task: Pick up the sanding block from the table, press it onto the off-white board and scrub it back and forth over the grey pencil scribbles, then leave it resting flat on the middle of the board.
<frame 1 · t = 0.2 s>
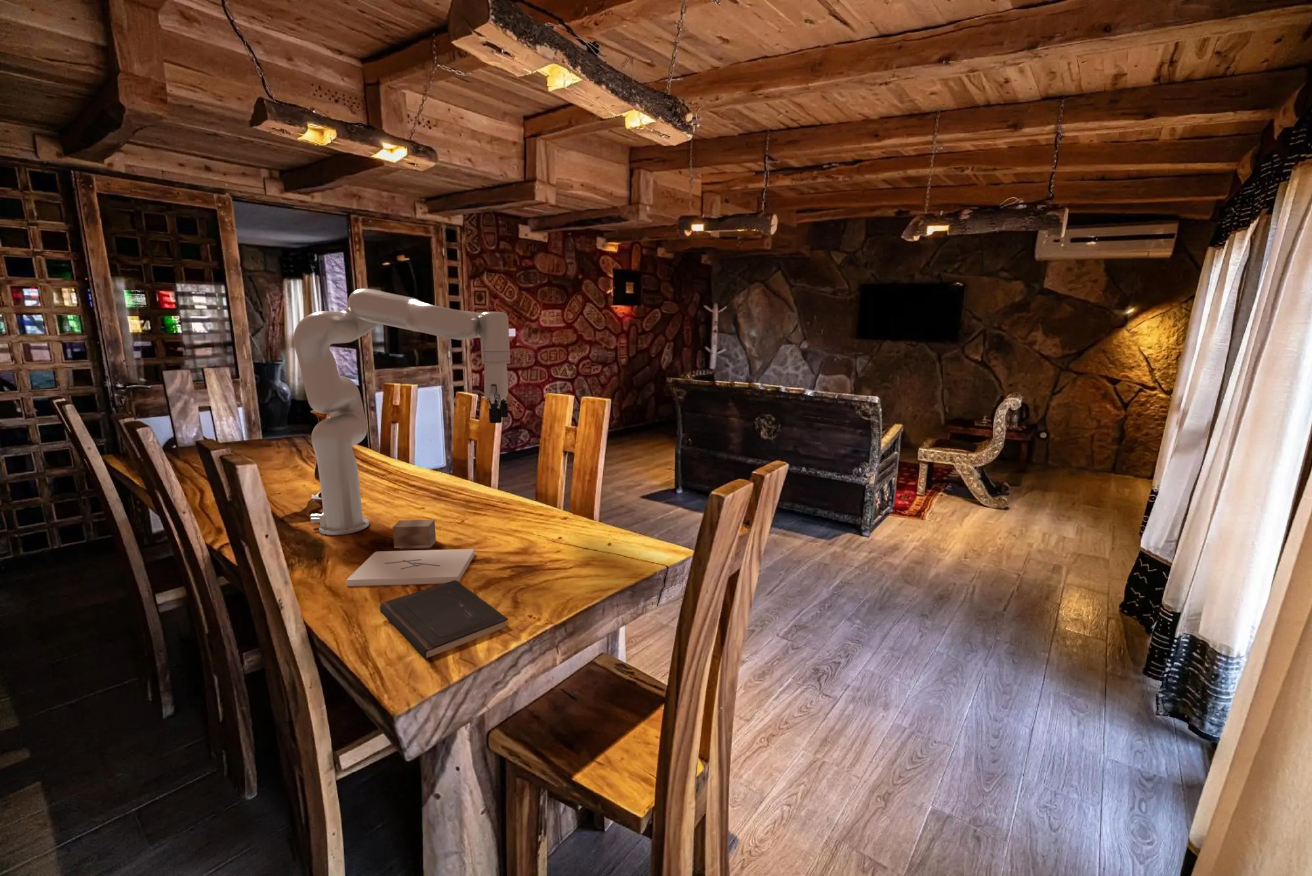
hand: (499, 419, 159), 31 cm above the table, tool pointing down, fingers open, 9 cm apart
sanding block: (415, 544, 150), on the table
board: (415, 569, 135), on the table
hardcover book: (442, 622, 113), on the table
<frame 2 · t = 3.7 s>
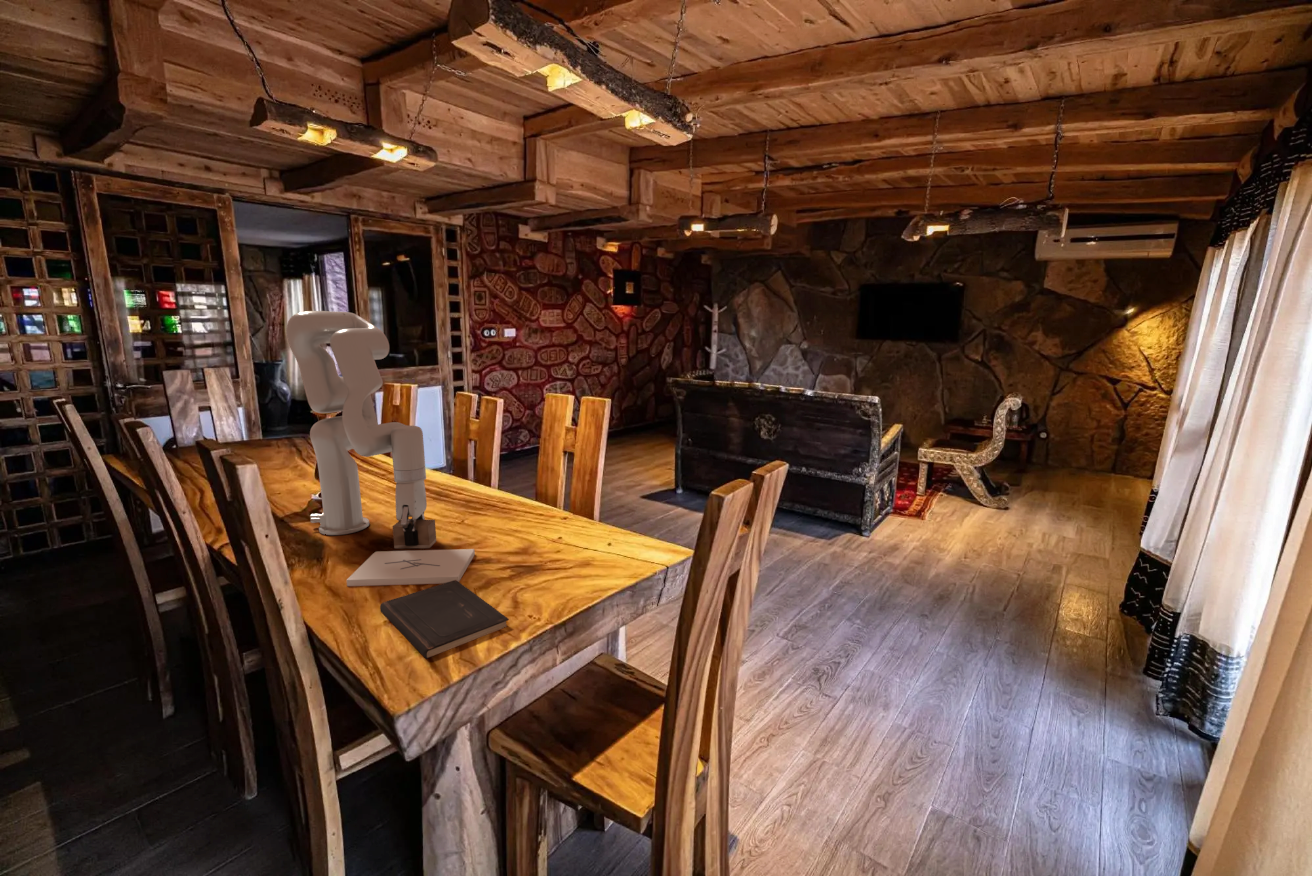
hand: (415, 540, 150), 1 cm above the table, tool pointing down, fingers closed on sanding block, 5 cm apart
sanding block: (415, 544, 150), on the table, touching gripper
everything else where it was.
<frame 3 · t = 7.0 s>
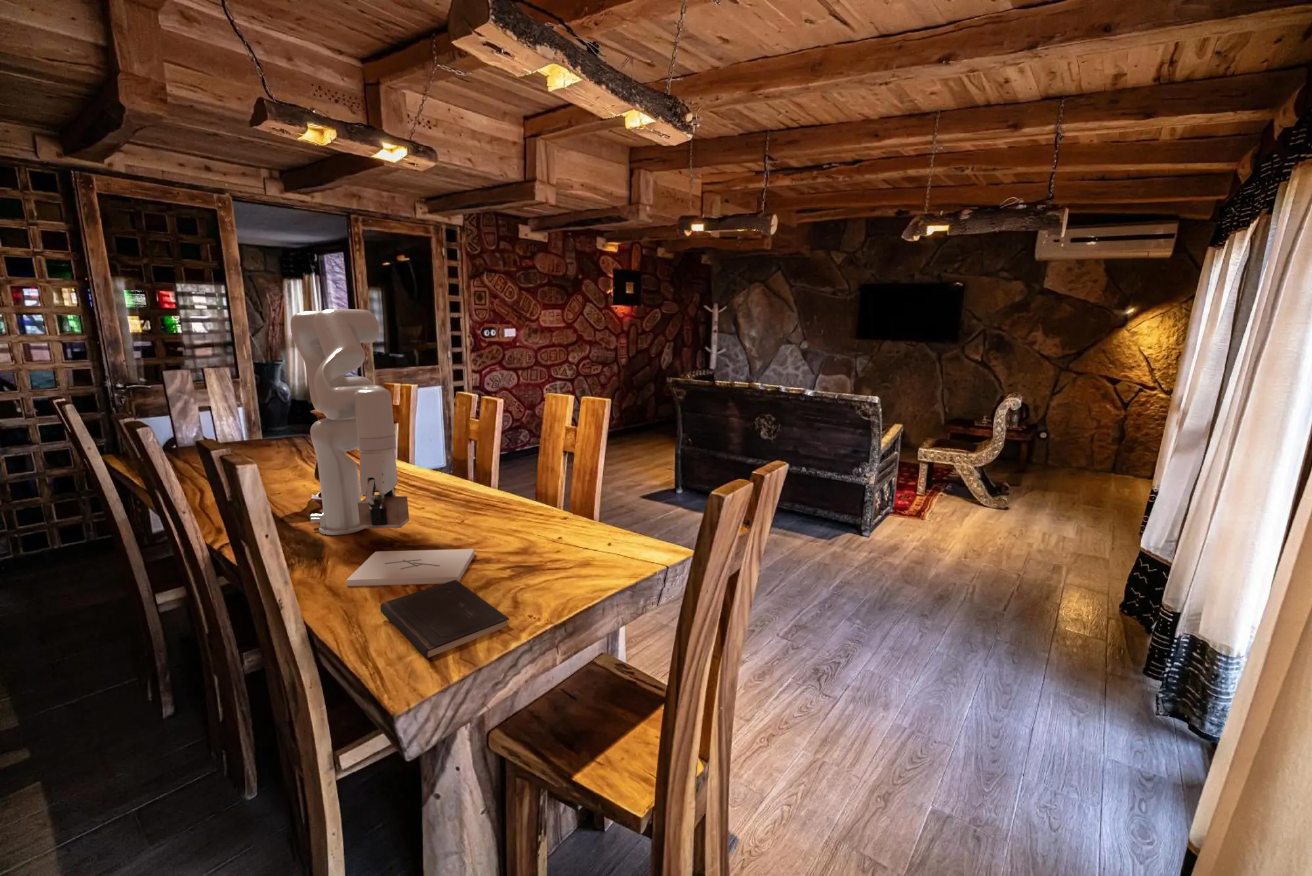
hand: (384, 519, 132), 13 cm above the table, tool pointing down, fingers closed on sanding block, 5 cm apart
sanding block: (385, 524, 132), point 11 cm above the table, touching gripper
everything else where it was.
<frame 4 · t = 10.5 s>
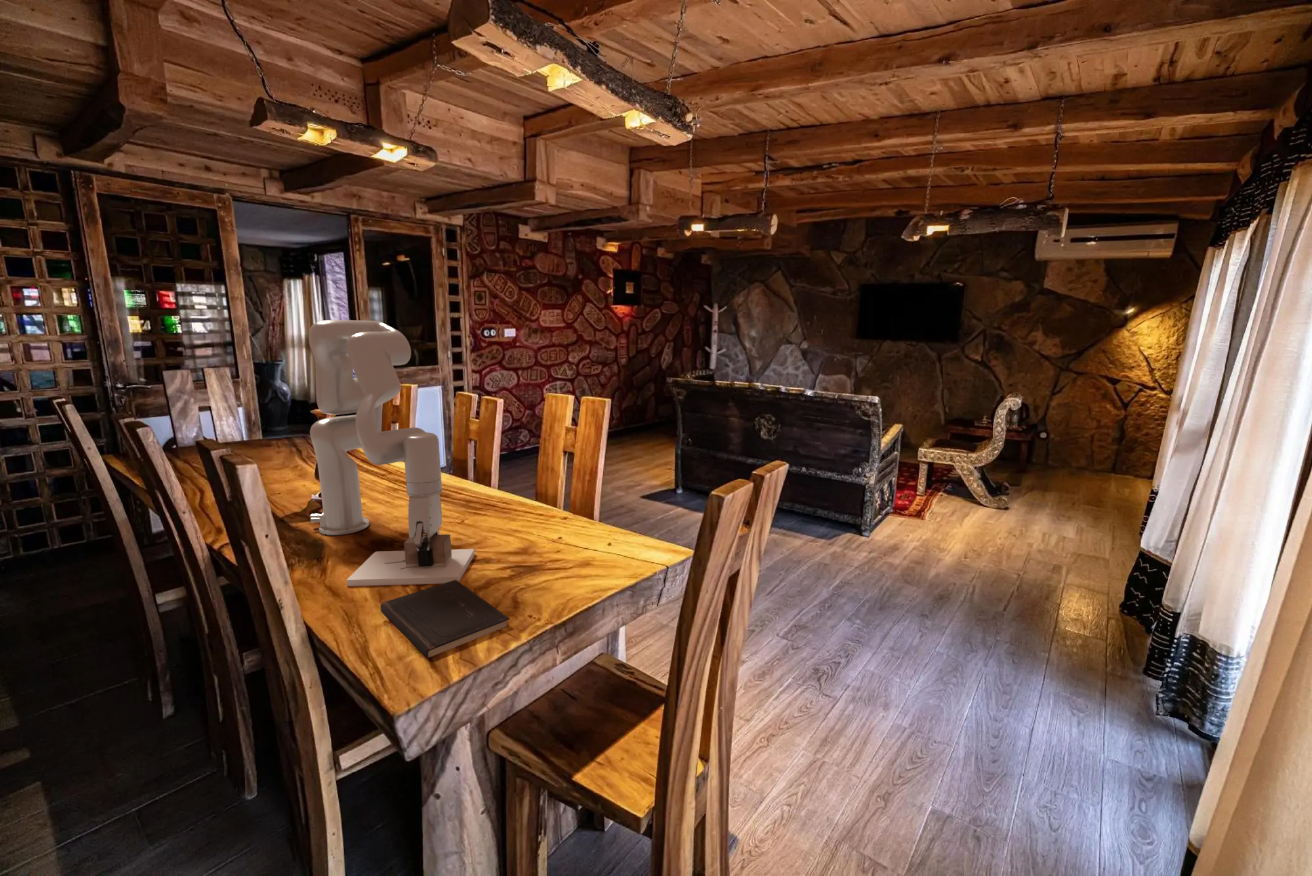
hand: (430, 559, 135), 2 cm above the table, tool pointing down, fingers closed on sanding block, 5 cm apart
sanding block: (429, 562, 135), point 2 cm above the table, touching gripper
everything else where it was.
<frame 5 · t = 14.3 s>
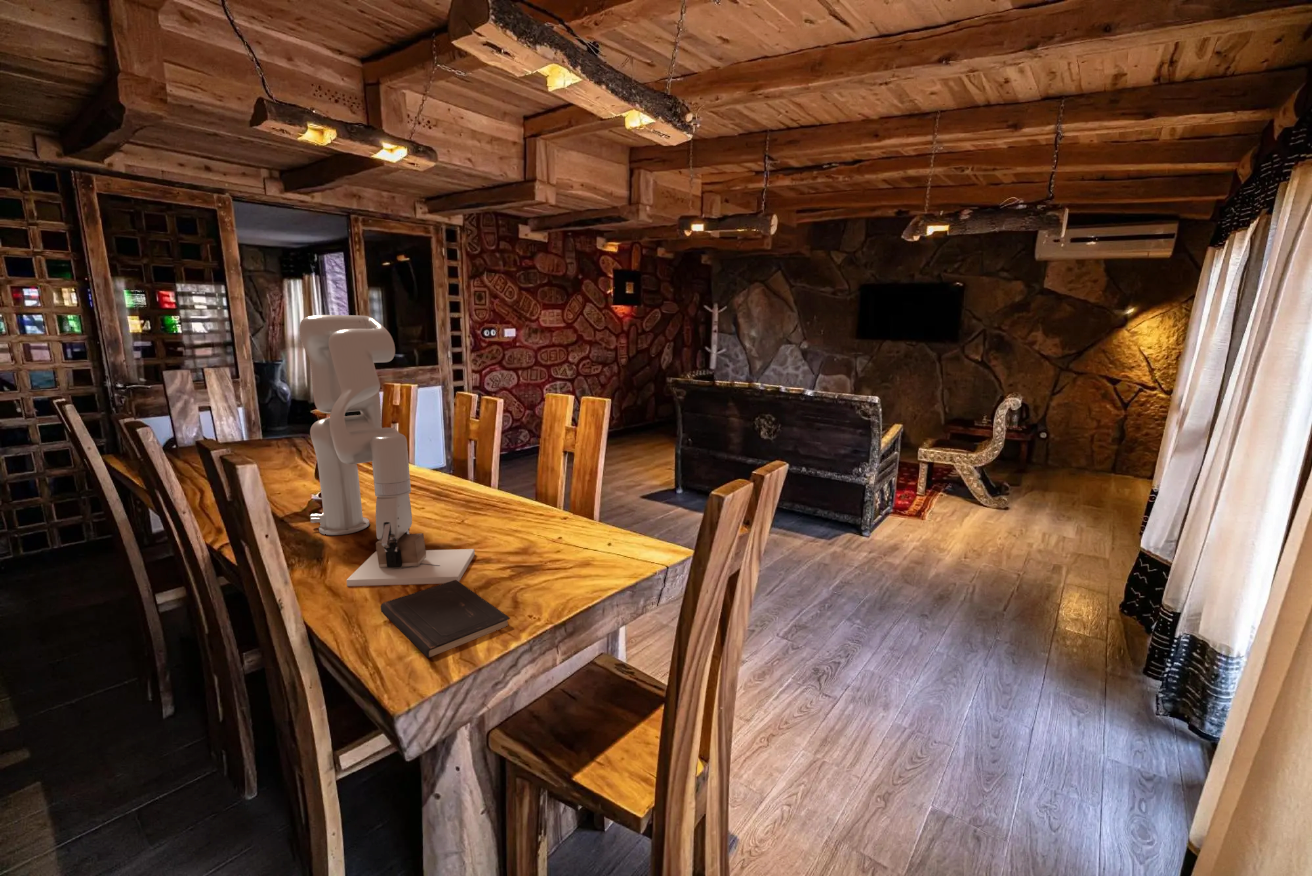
hand: (399, 560, 134), 2 cm above the table, tool pointing down, fingers closed on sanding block, 5 cm apart
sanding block: (403, 562, 134), point 2 cm above the table, touching gripper
everything else where it was.
when the fingers open (2 cm above the table, at t = 17.4 s): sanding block stays where it is, resting on board.
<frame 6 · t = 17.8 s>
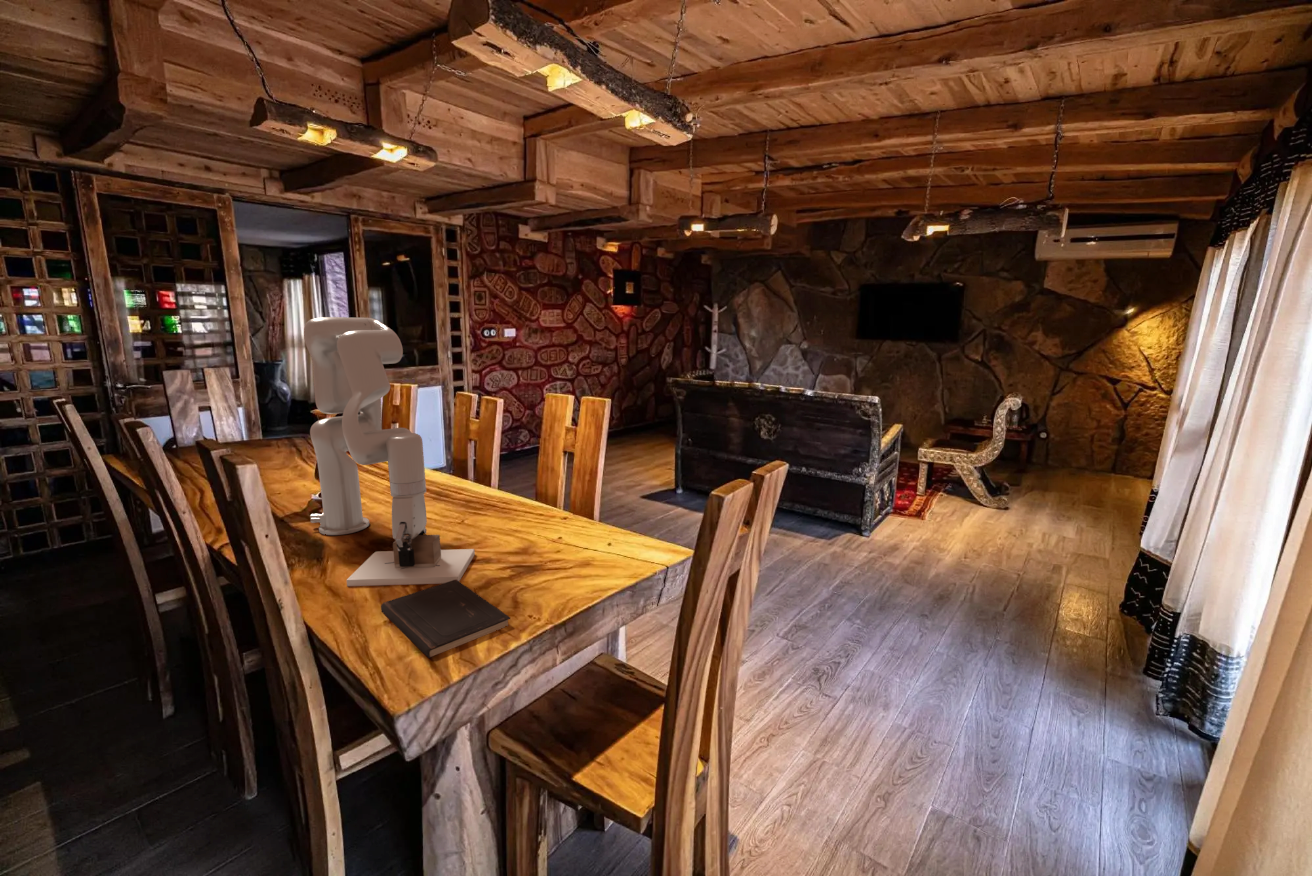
hand: (414, 557, 134), 3 cm above the table, tool pointing down, fingers open, 8 cm apart
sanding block: (418, 562, 135), point 2 cm above the table, touching board
everything else where it was.
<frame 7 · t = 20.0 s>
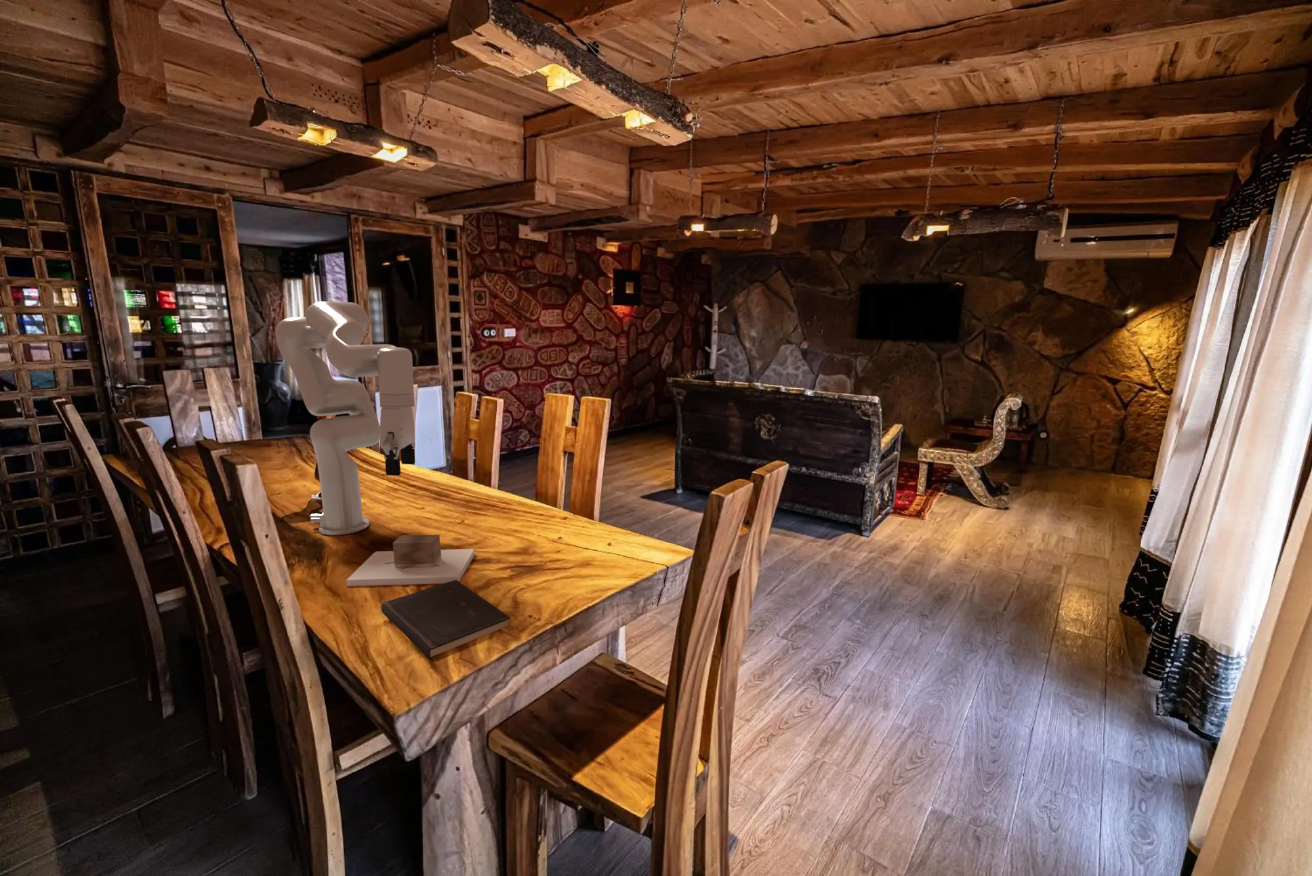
hand: (401, 469, 139), 22 cm above the table, tool pointing down, fingers open, 9 cm apart
nothing on the table moved.
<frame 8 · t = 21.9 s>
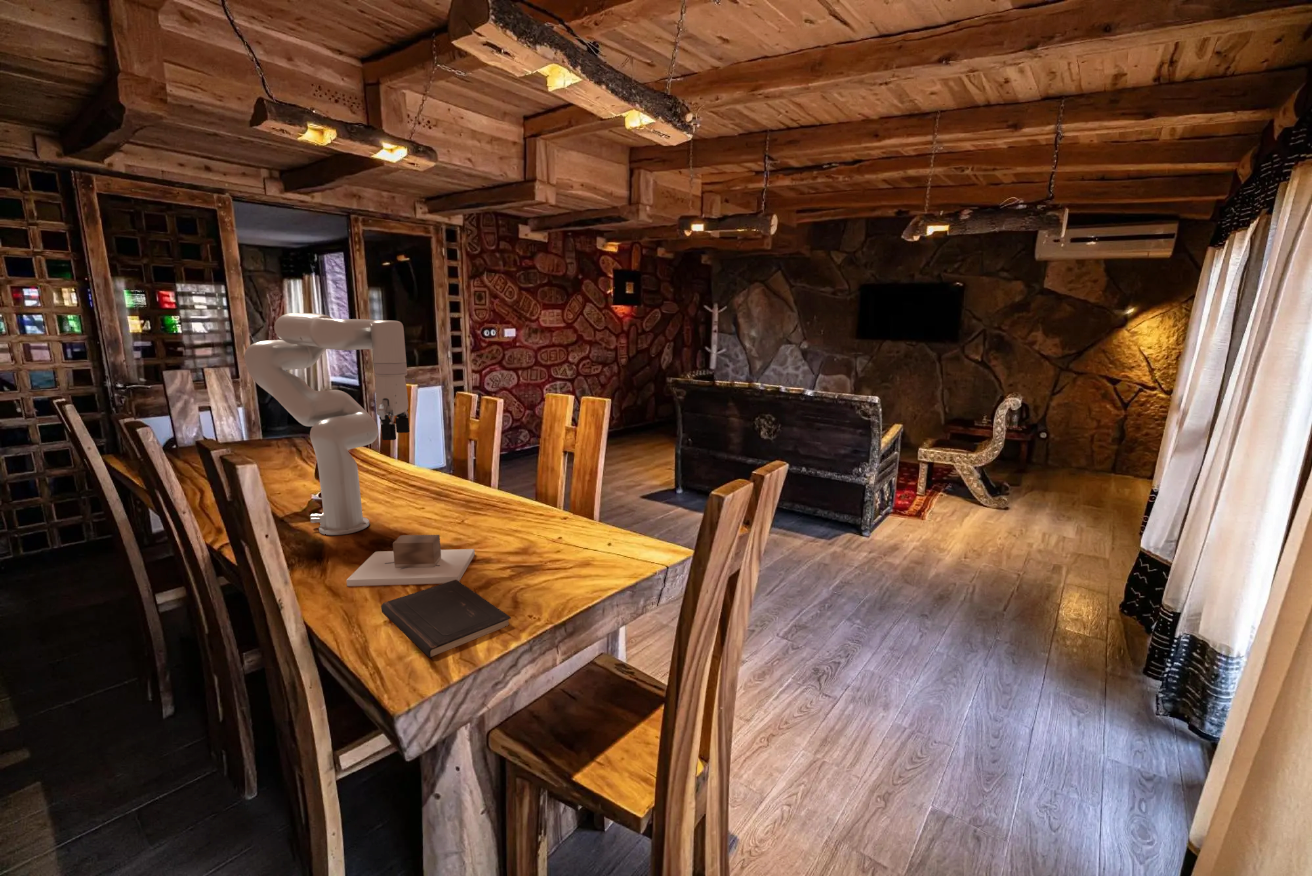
hand: (396, 436, 148), 28 cm above the table, tool pointing down, fingers open, 9 cm apart
nothing on the table moved.
at the end: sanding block inside the target area on the board (0.9 cm from its centre), point 1.6 cm above the board's base; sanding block tilted 0°; the gripper is holding nothing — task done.
